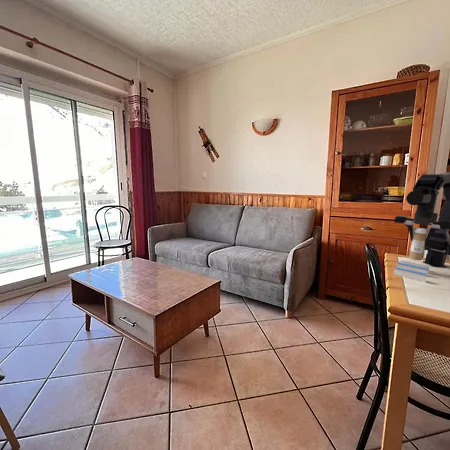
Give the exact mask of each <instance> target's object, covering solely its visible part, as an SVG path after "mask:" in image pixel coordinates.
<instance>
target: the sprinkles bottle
mask: <svg viewBox="0 0 450 450" xmlns="http://www.w3.org/2000/svg"><path fill="white" fill-rule="evenodd" d="M428 233H429V229H427V228H423V227H414V234H413V240H412V241H411V245H410V250H409V256H408V259H410V260H414V261H423V254H424V251H425V250H424V247H425V241H426V238H427V235H428Z"/></svg>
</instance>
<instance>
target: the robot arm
mask: <svg viewBox="0 0 450 450" xmlns="http://www.w3.org/2000/svg"><path fill="white" fill-rule="evenodd" d="M441 189H443V195H444V197H445V201H444V203H443V207H442V210H441V212H440V215H439V213H437V212H436V213H435V208H436V204H437V200H438V195H440V190H441ZM405 199H406V202H407V203H408V204H409V205H411V206H416V210H415V213H414V214H413V218H409V217H408V216H407V215H397V216H395V217H394V221H393V223H397V224H403V226H406V227H407V230H408V232H409V238H410V241H411V242H412V240H413V235H414V228H415V225H424V226H430V227H429V229H428V234H427V235H426V241H425V247H424V251H427V253H426V255H425V260H422V263H423V264H427V265H430V266H432V267H435V268H436V267H437V268H438V267H440V268H448V265H446V264H445V263H446V258H447V256H450V233H449V232H450V171H446V172H444V173H425V174H424V173H423V174H422V175H420V177H419V178H418V179H417V181H416V182H415V184H414V186H413V187H412V190H411V191H410V192H408V194H407V195H406V198H405ZM438 215H439V218H438Z"/></svg>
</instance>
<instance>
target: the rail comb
mask: <svg viewBox="0 0 450 450" xmlns="http://www.w3.org/2000/svg"><path fill="white" fill-rule="evenodd" d="M430 266H431V265H429V264H426V263H423V262H422V263H421V262H417V261H412V260H407V259H402V258H401V260H400V261H398V262H397V265H396V266H394V271H393V275H395V276H399V277H403V278H407V279H411V280H415V281H418V282H423V283H426V282H427V277H428V274H429V269H430Z"/></svg>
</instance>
